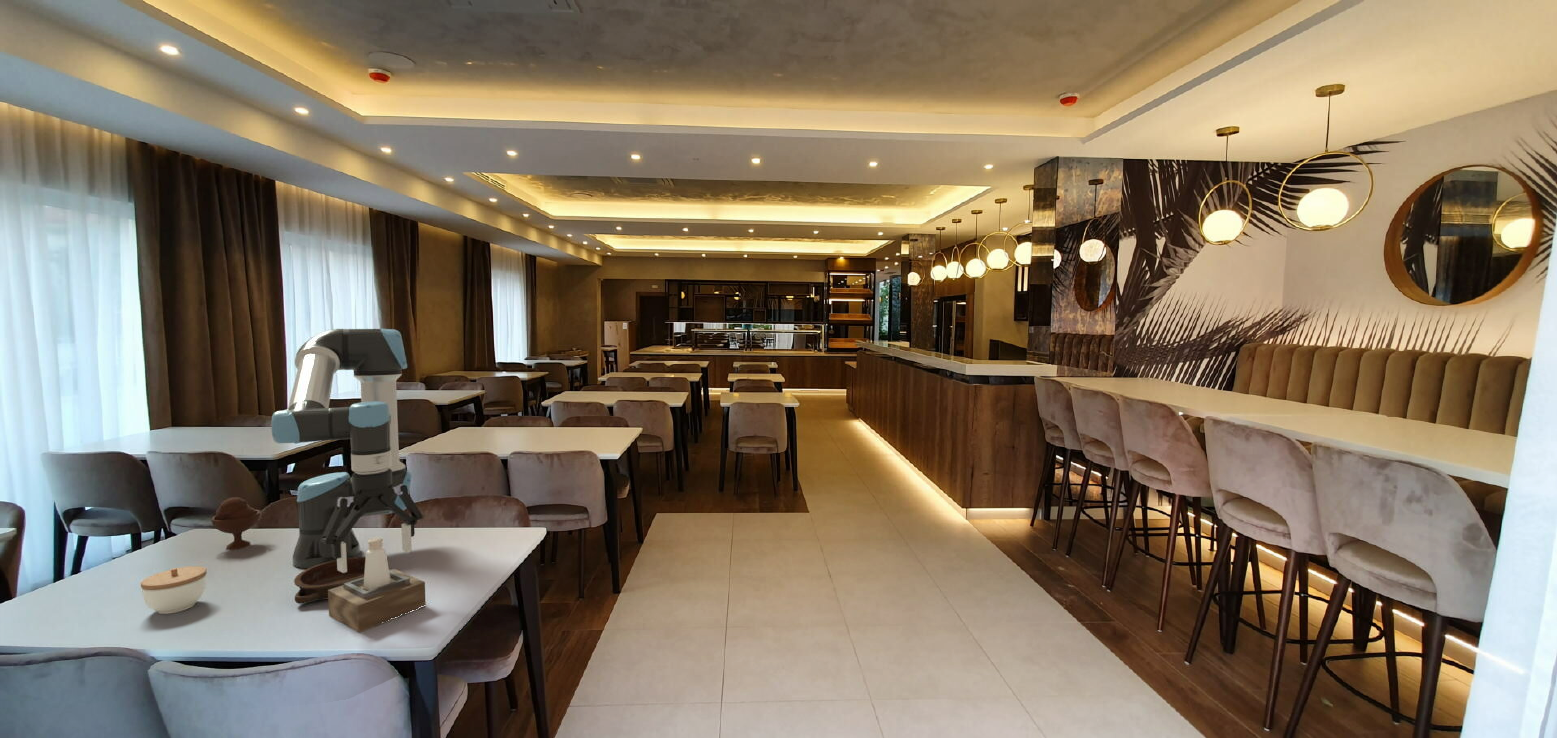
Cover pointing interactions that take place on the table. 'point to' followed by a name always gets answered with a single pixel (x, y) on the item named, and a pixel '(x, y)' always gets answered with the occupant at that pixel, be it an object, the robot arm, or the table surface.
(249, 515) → the ice cream bowl
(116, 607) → the table surface
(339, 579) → the dish
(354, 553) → the robot arm
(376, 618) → the display riser
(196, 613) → the table surface
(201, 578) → the lidded jar
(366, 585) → the pepper shaker
